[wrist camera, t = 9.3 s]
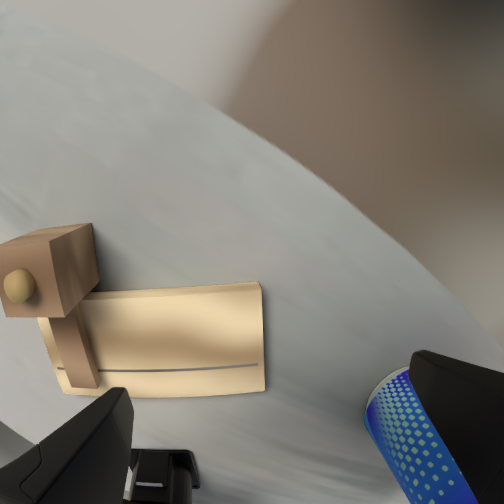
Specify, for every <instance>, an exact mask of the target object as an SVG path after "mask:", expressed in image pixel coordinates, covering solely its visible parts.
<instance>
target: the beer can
mask: <svg viewBox="0 0 504 504" xmlns="http://www.w3.org/2000/svg"><path fill="white" fill-rule="evenodd" d="M408 371H409V366H407V367H403V368H400V369H398V370H396V371H394V372H393V373H391V374H389V375H388V376H387V377H385V378H384V379H383V380H382V381H381V382H380V383H379V384H378V385H377V386H376V387H375V389H374V390H373V392H372V393H371V395H370V397H369V399H368V402H367V406H366V412H365V416H364V423H365V426H366V429H367V430H368V432H369V434H370V435H371V437H372V439H373V440H374V442H375V444H376V445H377V447H378V449H379V451H380V452H381V454H382V456H383V457H384V459H385V461H386V462H387V464H388V466H389V467H390V469H391V471H392V473H393V474H394V476H395V478H396V479H397V481H398V483H399V484H400V486H401V488H402V490H403V491H404V493H405V495H406V496H407V498H408V500H409V502H410V503H411V504H478V503H477V500H476V499H475V497H474V495H473V493H472V491H471V489H470V488H469V486H468V484H467V482H466V480H465V479H464V477H463V475H462V473H461V472H460V470H459V468H458V466H457V465H456V463H455V461H454V459H453V458H452V456H451V454H450V453H449V451H448V449H447V448H446V446H445V444H444V443H443V441H442V439H441V438H440V436H439V434H438V433H437V431H436V429H435V428H434V426H433V424H432V423H431V421H430V420H429V418H428V416H427V415H426V413H425V411H424V409H423V407H422V405H421V403H420V401H419V399H418V397H417V395H416V393H415V391H414V388H413V386H412V384H411V382H410V380H409V378H408Z"/></svg>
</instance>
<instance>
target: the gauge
mask: <svg viewBox="0 0 504 504" xmlns="http://www.w3.org/2000/svg"><path fill="white" fill-rule="evenodd" d="M99 282H100V277H99V272H98V266H97V260H96V254H95V247H94V240H93V233H92V225H91V223H86V224H77V225H69V226H62V227H54V228H47V229H39V230H36V231H34V232H31V233H28V234H26V235H23V236H20V237H18V238H15V239H13V240H10V241H8V242H5V243H3V244H0V297H1V301H2V305H3V308H4V312H5V315H6V317H48V320H49V323H50V327H51V330H52V333H53V337H54V340H55V343H56V346H57V349H58V352H59V355H60V358H61V361H62V363H63V366H64V369H65V372H66V374H67V377H68V379H69V382H70V385H71V387H73V388H88V389H98V387H99V385H100V383H101V378H100V375H99V372H98V369H97V366H96V363H95V360H94V357H93V354H92V350H91V347H90V344H89V340H88V337H87V333H86V329H85V326H84V322H83V318H82V314H81V310H80V306H79V302H80V301H81V300H82V299H83V298H84V297H85V296H86V295H87V294H88V293H89V292H90V291H91V290H92V289H93V288H94V287H95V286H96V285H97V284H98V283H99Z"/></svg>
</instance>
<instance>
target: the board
mask: <svg viewBox="0 0 504 504" xmlns="http://www.w3.org/2000/svg"><path fill="white" fill-rule="evenodd" d="M79 306H80V310H81V314H82V318H83V322H84V326H85V329H86V333H87V337H88V340H89V344H90V347H91V350H92V354H93V357H94V360H95V363H96V366H97V369H98V372H99V375H100V378H101V383H100V385H99V387H98V389H88V388H73V387H71V385H70V382H69V379H68V377H67V374H66V372H65V369H64V366H63V363H62V361H61V358H60V355H59V352H58V349H57V346H56V343H55V340H54V337H53V333H52V330H51V327H50V323H49V320H48V317H37V319H38V323H39V326H40V329H41V333H42V336H43V339H44V342H45V345H46V348H47V351H48V354H49V357H50V360H51V362H52V365H53V368H54V370H55V373H56V376H57V378H58V381H59V383H60V386H61V388H62V391H63V393H65V394H76V395H89V396H101V395H103V394H104V393H105V392H107V391H108V390H109V389H111V388H112V387H125V388H126V389H127V391H128V394H129V397H138V398H163V397H196V396H214V395H227V394H239V393H249V392H259V391H265V377H264V348H263V320H262V294H261V287H260V285H259V283H258V282H247V283H234V284H221V285H208V286H193V287H178V288H163V289H146V290H128V291H108V292H89V293H88V294H87V295H86V296H85V297H84V298H83V299H82V300H81V301H80V302H79Z"/></svg>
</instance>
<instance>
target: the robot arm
mask: <svg viewBox="0 0 504 504" xmlns="http://www.w3.org/2000/svg"><path fill="white" fill-rule="evenodd" d="M408 378H409V380H410V382H411V384H412V386H413V388H414V391H415V393H416V395H417V397H418V399H419V401H420V403H421V405H422V407H423V409H424V411H425V413H426V415H427V416H428V418H429V420H430V421H431V423H432V424H433V426H434V428H435V429H436V431H437V433H438V434H439V436H440V438H441V439H442V441H443V443H444V444H445V446H446V448H447V449H448V451H449V453H450V454H451V456H452V458H453V459H454V461H455V463H456V465H457V466H458V468H459V470H460V472H461V473H462V475H463V477H464V479H465V480H466V482H467V484H468V486H469V488H470V489H471V491H472V493H473V495H474V497H475V499H476V500H477V503H478V504H504V373H502V372H498V371H495V370H491V369H488V368H484V367H481V366H477V365H474V364H470V363H467V362H463V361H460V360H457V359H453V358H450V357H447V356H443V355H440V354H437V353H434V352H430V351H427V350H420V351H417V352H414V353H413V355H412V358H411V362H410V366H409V371H408ZM133 419H134V410H133V406H132V403H131V400H130V397H129V394H128V391H127V389H126V388H125V387H112V388H111V389H109V390H108V391H107V392H105V393H104V394H103V395H101V396H100V397H99V398H98V399H96V400H95V401H94V402H92V403H91V404H90V405H88V406H87V407H86V408H85V409H83V410H82V411H81V412H79V413H78V414H77V415H75V416H74V417H73V418H71V419H70V420H69V421H67V422H66V423H65V424H63V425H62V426H61V427H59V428H58V429H57V430H55V431H54V432H53V433H51V434H50V435H49V436H47V437H46V438H45V439H43V440H42V441H41V442H39V444H37V445H35V446H34V447H33V448H31V449H30V450H29V451H27V452H26V453H24V454H23V455H21V456H20V457H18V458H17V459H15V460H13V461H12V462H10V463H9V464H7V465H5V466H4V467H2V468H0V504H192V489H198V488H200V482H199V478H198V475H197V472H196V469H195V465H194V462H193V458H192V455H191V452H190V451H187V450H143V449H131V444H132V431H133ZM128 467H130V469H131V470H132V472H133V475H132V480H131V485H130V491H129V497H128V500H126V499H123V495H124V489H125V484H126V478H127V473H128Z"/></svg>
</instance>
